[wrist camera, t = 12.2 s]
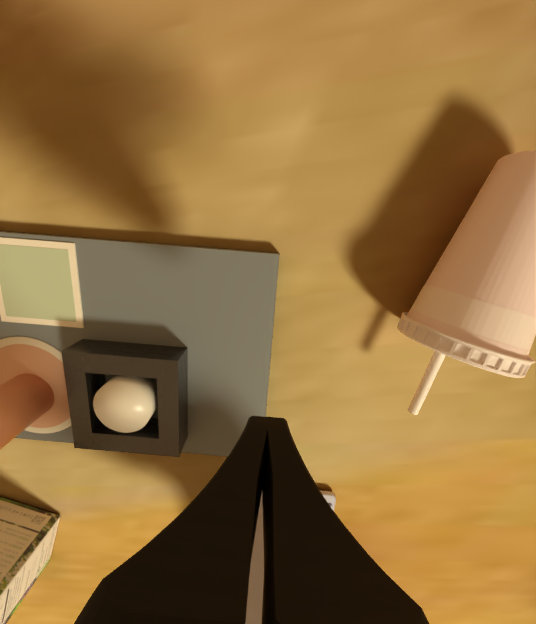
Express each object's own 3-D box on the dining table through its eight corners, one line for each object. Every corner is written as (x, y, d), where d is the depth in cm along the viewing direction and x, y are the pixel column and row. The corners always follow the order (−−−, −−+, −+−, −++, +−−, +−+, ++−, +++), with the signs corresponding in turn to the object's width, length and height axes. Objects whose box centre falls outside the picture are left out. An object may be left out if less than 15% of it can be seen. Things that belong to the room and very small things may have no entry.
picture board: (262, 451, 23) (261, 460, 22) (-2, 428, 23) (-13, 436, 22) (279, 253, 18) (279, 254, 17) (-47, 227, 19) (-63, 227, 18)
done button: (162, 417, 21) (151, 435, 19) (111, 413, 21) (95, 430, 19) (160, 371, 20) (149, 385, 18) (106, 366, 20) (90, 380, 18)
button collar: (187, 436, 21) (179, 456, 20) (92, 427, 22) (74, 447, 20) (187, 347, 19) (177, 360, 18) (82, 338, 20) (61, 351, 18)
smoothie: (497, 123, 12) (369, 418, 15) (697, 158, 10) (508, 478, 14) (451, 172, 18) (367, 375, 21) (573, 199, 16) (462, 413, 20)
